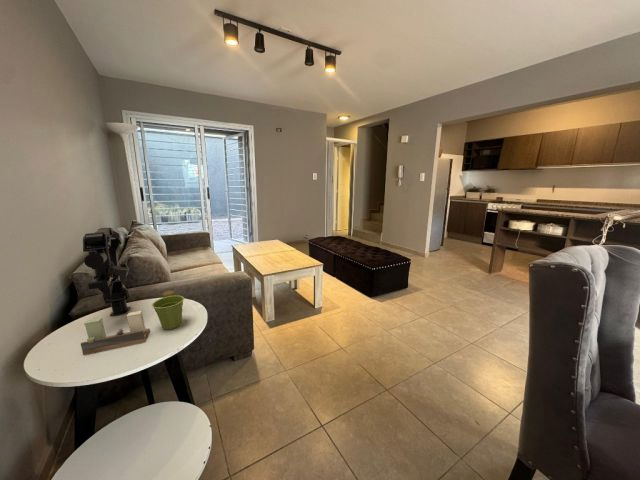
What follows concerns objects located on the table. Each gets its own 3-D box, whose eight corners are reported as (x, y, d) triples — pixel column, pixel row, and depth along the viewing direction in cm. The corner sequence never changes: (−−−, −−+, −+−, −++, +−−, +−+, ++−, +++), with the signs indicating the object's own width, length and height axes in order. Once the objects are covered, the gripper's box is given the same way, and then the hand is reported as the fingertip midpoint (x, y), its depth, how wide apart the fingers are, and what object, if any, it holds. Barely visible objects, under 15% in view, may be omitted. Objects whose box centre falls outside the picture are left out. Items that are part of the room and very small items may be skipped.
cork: (164, 317, 115) (160, 295, 113) (165, 312, 121) (161, 290, 118) (179, 314, 118) (175, 292, 116) (179, 308, 123) (176, 287, 121)
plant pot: (189, 327, 107) (185, 302, 105) (156, 336, 101) (151, 311, 99) (186, 315, 117) (182, 292, 115) (156, 323, 111) (151, 299, 108)
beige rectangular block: (133, 332, 101) (128, 312, 99) (145, 329, 103) (141, 310, 101) (130, 335, 99) (126, 316, 97) (144, 333, 100) (139, 313, 98)
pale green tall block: (92, 340, 97) (87, 320, 95) (106, 337, 98) (101, 317, 96) (89, 344, 95) (84, 323, 93) (104, 341, 96) (98, 320, 94)
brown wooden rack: (93, 342, 99) (90, 329, 97) (150, 331, 105) (147, 319, 104) (82, 355, 91) (78, 342, 90) (144, 342, 97) (141, 330, 96)
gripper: (119, 264, 101) (126, 301, 104) (130, 254, 117) (136, 286, 120) (82, 269, 96) (91, 307, 99) (100, 258, 113) (107, 291, 116)
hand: (109, 297), depth 109 cm, fingers closed
